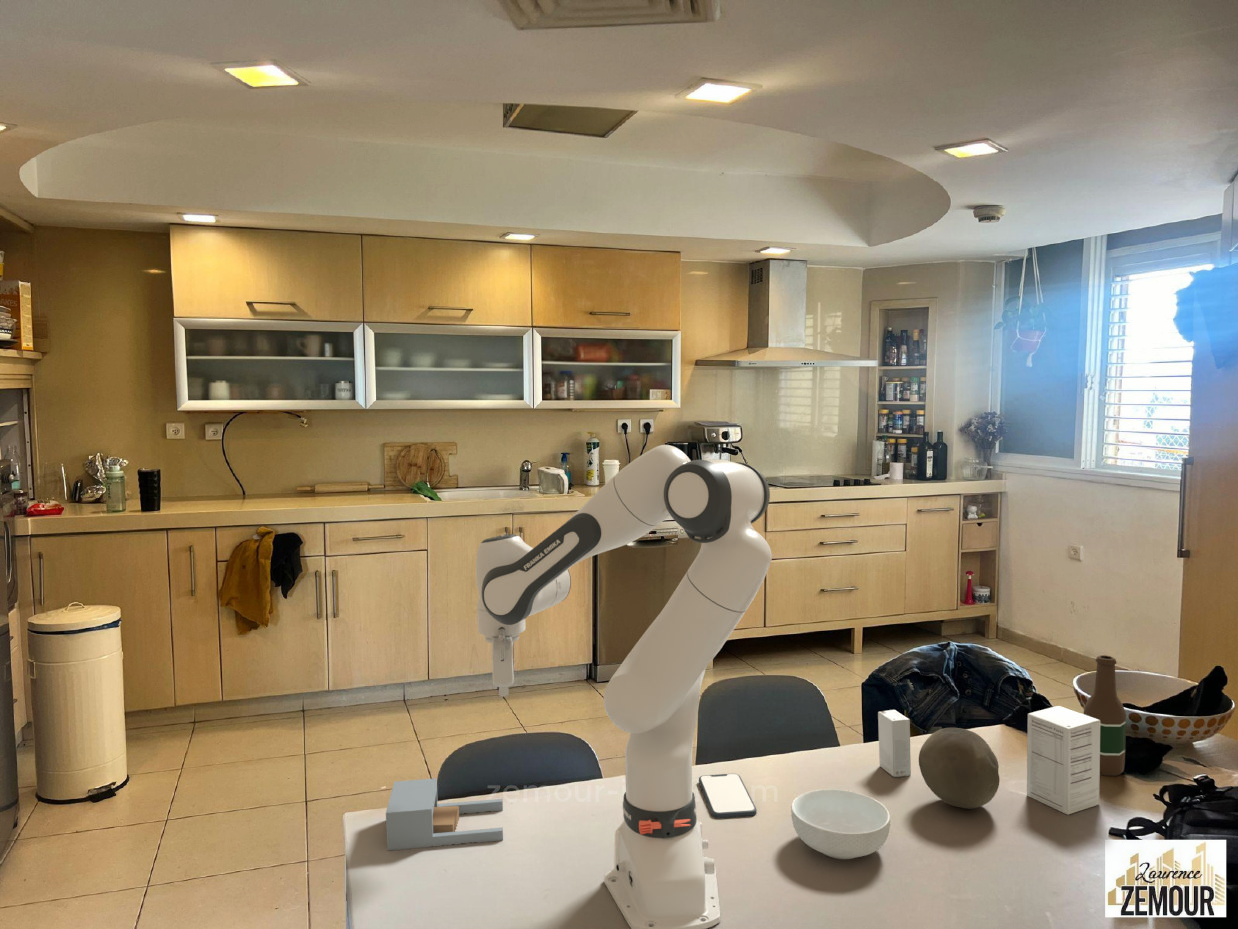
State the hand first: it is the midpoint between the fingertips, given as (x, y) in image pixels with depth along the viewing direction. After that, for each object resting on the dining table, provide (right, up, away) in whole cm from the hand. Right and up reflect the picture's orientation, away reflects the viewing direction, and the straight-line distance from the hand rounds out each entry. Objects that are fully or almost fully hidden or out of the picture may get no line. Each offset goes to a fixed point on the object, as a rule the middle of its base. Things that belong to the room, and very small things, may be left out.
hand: (503, 693), depth 161 cm
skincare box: (+80, -22, +21) cm, 85 cm away
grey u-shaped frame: (-11, -25, +1) cm, 28 cm away
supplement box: (+108, -23, +7) cm, 110 cm away
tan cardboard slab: (-14, -26, 0) cm, 29 cm away
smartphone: (+43, -24, +11) cm, 50 cm away
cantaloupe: (+87, -23, +5) cm, 90 cm away
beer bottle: (+123, -21, +20) cm, 127 cm away
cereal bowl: (+61, -25, -9) cm, 66 cm away
